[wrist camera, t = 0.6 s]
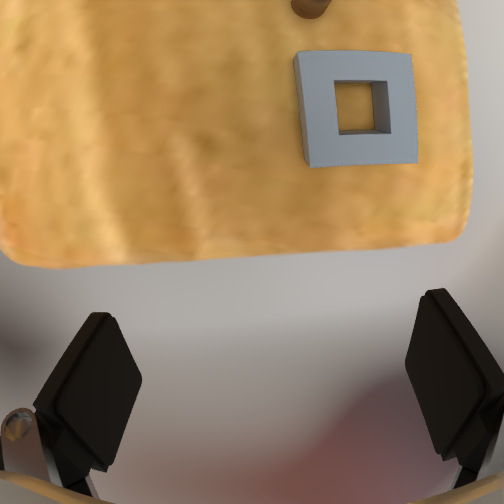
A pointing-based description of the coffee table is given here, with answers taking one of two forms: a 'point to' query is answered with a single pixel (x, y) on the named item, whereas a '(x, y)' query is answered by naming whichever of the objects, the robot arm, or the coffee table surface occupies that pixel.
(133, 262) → the coffee table surface
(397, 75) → the socket block
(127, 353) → the robot arm
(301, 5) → the peg
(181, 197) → the coffee table surface
